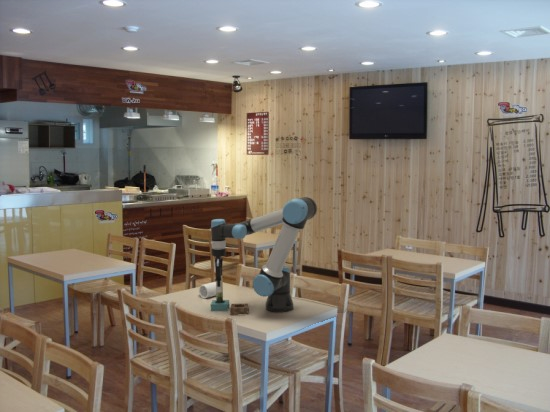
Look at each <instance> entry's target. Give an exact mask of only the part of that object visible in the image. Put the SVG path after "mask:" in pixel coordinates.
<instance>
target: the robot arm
mask: <svg viewBox="0 0 550 412" xmlns="http://www.w3.org/2000/svg"><path fill="white" fill-rule="evenodd" d="M317 211H318V205H317V203H316V201H315V200H314V199H312V198H311V197H308V196H304V197H299V198H293V199H289V200H288V201H287V202H286V203H285V204H284V206H283V208H281V209H278V210H276V211H272V212H269V213H266V214H263V215H260V216H258V217H253V218H252V219H251V218H250V219H248V220H245V221H242V222H237V223H226V220H225V219H223V218H216V219H215V218H214V219H212V220H211V223H210V225H211V226H210V231H211V232H210V233H211V235H210V237H211V240H210V242H209V243H210V244H211V256H212V257H215V259H214V264H215V265H214V267H215V279H214V282H216V292H222V281H221V275H223V261H224V258H223V257H224V256H226V254H227V252H226V251H227V249H226V246H227V245H226V241H227V240H226V239H236V240H239V239H240V240H242V239H245V238H246V236H249V235H253V234H256V233H258V232H261V231H265V230H267V229H271V228H274V227H277V226H281V225H282V226H281V229H280V232H279V234H278V236H277V238H276V241H275V243H274V245H273V248H272V250H271V252H270V255H269V258H268V259H267V262H266V264H263V265H262V266H261V268H260V271H259V273H258V274H257V275H255V277H253V280H252V287H253V290H254V292H255V293H256V294H257V295H258V296H260V297H263V298H264V297H266V301H265V305H264V307H265V310H266V311H269V312H275V313H278V312H279V313H283V312H290V311H292V310H294V307H295V306H294V305H295V304H294V301H293V298H292V295H291V271H290V267H289V266H287V265H286V262H287V259H288V257H289V255H290V253H291V251H292V248H293V246H294V243H295V242H296V239H297V236H298V234H299V231H301V230H304V228H305V225H306V224H307V222H308V220H311V219H313V218H314V217H315V216H316V215H317ZM223 278H224V276H223Z"/></svg>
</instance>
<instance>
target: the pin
mask: <svg viewBox="0 0 550 412" xmlns="http://www.w3.org/2000/svg"><path fill="white" fill-rule="evenodd" d="M223 279H224V277H223V274H222V275H221V281H222V292H216V296H215V297H216V298H215V300H216V302H223V300H224V288H223V286H224V285H223Z"/></svg>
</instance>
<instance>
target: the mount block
mask: <svg viewBox="0 0 550 412" xmlns="http://www.w3.org/2000/svg"><path fill="white" fill-rule="evenodd" d="M229 307H230V308H229V311H230V313H229V314H230V316H239V315H238V314H249V303H248V302H247V303H231V305H230V306H229Z"/></svg>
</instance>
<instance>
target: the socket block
mask: <svg viewBox="0 0 550 412" xmlns="http://www.w3.org/2000/svg"><path fill="white" fill-rule="evenodd" d="M229 307H230V299H223V302H216V299H212V300H211V303H210V312H218V311H219V312H220V311H222V312H227V311H228V310H229V309H230V308H229Z"/></svg>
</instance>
